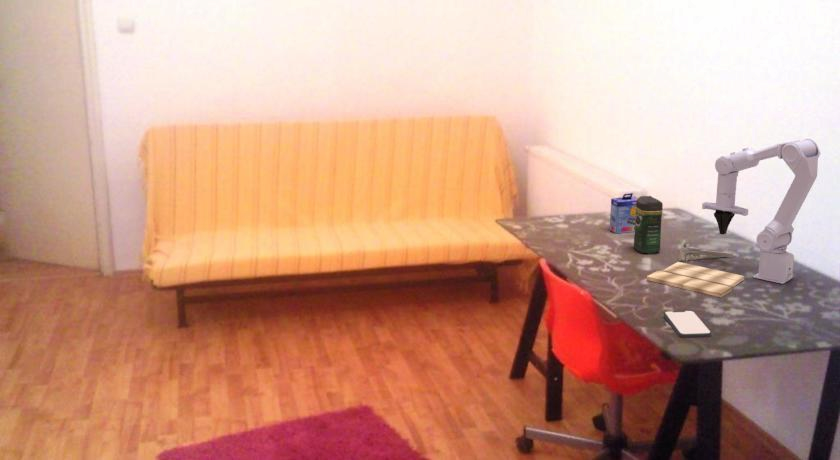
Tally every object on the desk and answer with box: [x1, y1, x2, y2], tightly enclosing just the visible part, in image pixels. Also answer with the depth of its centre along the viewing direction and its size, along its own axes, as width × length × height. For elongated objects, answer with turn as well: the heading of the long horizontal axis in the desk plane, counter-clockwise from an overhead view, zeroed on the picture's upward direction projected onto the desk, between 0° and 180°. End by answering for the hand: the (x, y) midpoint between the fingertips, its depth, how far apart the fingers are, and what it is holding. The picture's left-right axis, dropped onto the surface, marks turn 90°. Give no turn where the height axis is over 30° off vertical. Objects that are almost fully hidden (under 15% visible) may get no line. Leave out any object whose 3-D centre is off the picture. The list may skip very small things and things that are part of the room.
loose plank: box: [663, 261, 745, 288], centre depth 276 cm, size 22×10×1 cm, turn 47°
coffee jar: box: [633, 195, 664, 255], centre depth 301 cm, size 10×8×19 cm
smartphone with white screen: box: [663, 310, 713, 338], centre depth 239 cm, size 9×2×16 cm
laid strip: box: [646, 269, 734, 298], centre depth 269 cm, size 24×8×1 cm, turn 47°
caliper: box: [678, 243, 737, 263], centre depth 293 cm, size 20×1×6 cm, turn 103°
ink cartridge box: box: [609, 192, 639, 234], centre depth 325 cm, size 10×6×14 cm, turn 108°
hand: (722, 233), depth 287 cm, fingers closed
